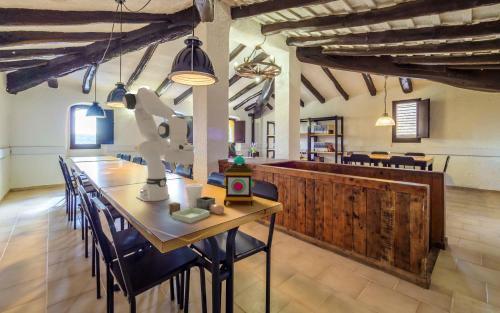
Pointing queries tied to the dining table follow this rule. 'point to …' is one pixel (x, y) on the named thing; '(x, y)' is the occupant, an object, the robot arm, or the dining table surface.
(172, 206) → the walnut block
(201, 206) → the dark grey square bin
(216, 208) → the potato
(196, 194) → the foam cup
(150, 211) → the dining table surface
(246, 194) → the decorative lantern
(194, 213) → the pale green tray
